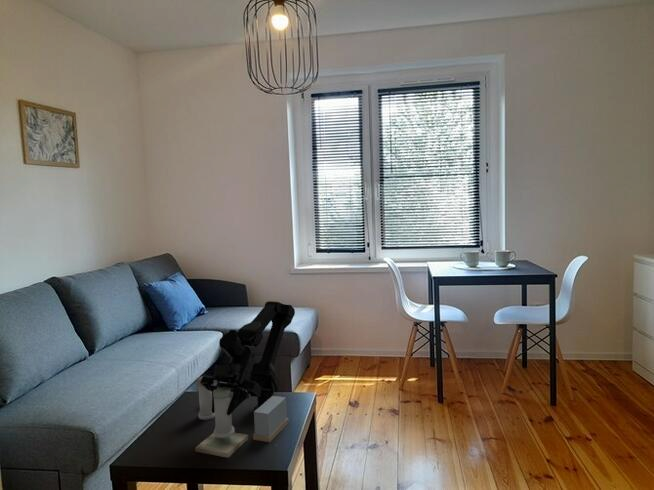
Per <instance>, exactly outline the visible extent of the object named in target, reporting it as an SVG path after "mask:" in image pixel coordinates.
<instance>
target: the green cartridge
mask: <svg viewBox="0 0 654 490" xmlns="http://www.w3.org/2000/svg"><path fill="white" fill-rule="evenodd" d="M231 390H232V389H230V388H227V387H221V388H217V389H215V390H214V391H213V397H214V408H215V417H214V420H215V421H214V422H215V424H214V425H215V428H214V430H213V433H214V436H215V437H217V438H226V437H229V436H232V435H233V434H234V433H236V432H235V427H234V426H233V418H232V417H233V415H232V414H233V412H232V413H231V414H230V415H227V411H228V408H229V405H230V402H231V400H232V397H231V395H232V394H231V393H232V392H231Z"/></svg>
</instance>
